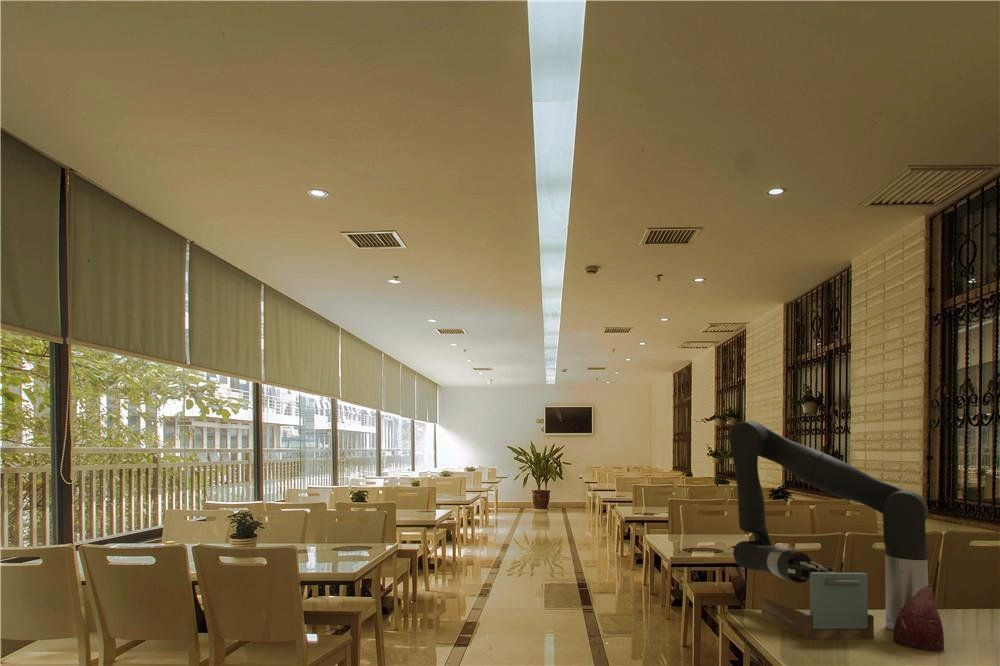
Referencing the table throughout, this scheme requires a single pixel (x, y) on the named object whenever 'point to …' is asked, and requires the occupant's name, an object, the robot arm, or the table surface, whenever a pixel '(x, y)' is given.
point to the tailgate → (839, 600)
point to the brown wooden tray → (808, 623)
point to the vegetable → (920, 623)
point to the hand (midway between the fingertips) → (834, 577)
